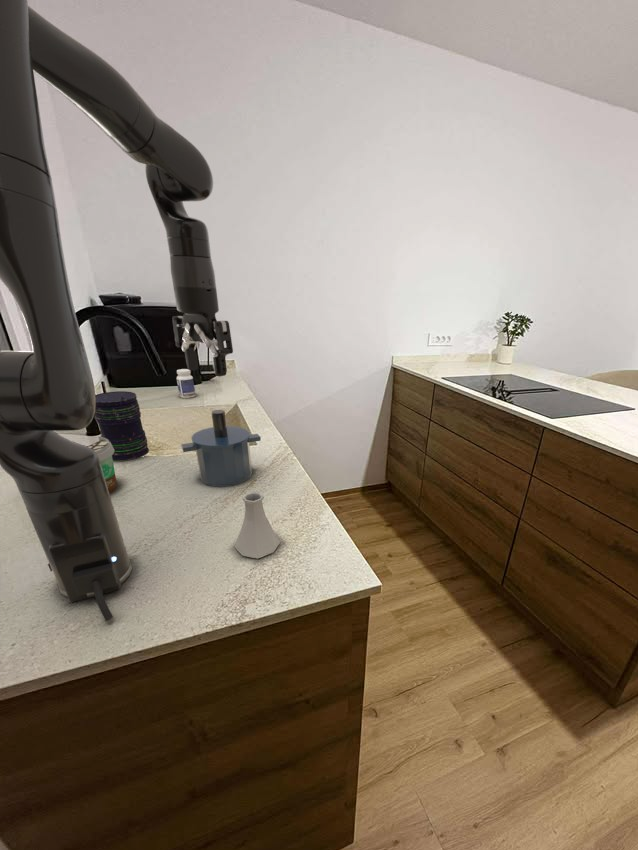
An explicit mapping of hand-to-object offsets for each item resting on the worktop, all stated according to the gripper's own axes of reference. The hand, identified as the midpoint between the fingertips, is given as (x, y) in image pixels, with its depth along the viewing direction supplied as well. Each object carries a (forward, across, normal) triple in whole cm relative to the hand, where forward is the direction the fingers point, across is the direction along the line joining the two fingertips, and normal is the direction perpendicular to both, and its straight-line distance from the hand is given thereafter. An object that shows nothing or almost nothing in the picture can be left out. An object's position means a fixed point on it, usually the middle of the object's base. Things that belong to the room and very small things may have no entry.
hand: (207, 372), depth 80 cm
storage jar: (+24, -29, -5) cm, 38 cm away
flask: (+24, +26, -14) cm, 39 cm away
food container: (+24, -14, -19) cm, 34 cm away
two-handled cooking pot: (+24, 0, +1) cm, 24 cm away
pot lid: (+14, 0, +1) cm, 14 cm away
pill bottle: (+23, -64, +38) cm, 78 cm away
